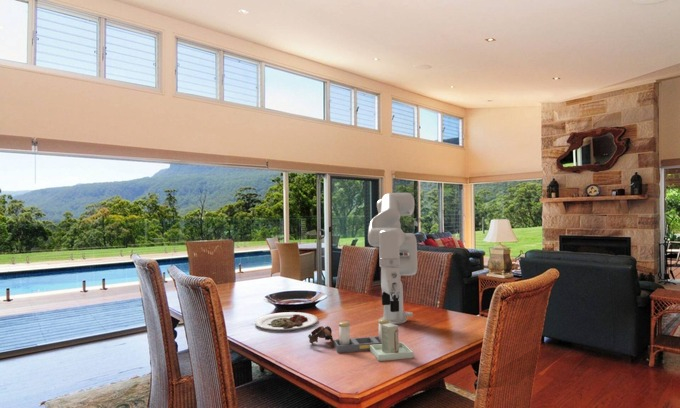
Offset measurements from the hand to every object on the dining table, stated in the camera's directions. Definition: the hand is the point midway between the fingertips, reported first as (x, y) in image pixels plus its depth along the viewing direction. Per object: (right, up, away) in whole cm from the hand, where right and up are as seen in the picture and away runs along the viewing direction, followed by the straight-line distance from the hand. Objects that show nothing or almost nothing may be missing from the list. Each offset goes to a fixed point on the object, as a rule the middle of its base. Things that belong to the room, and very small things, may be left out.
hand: (390, 308), depth 150 cm
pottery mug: (-26, -18, +11) cm, 33 cm away
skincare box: (0, -17, 0) cm, 17 cm away
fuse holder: (-9, -17, +7) cm, 21 cm away
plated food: (-45, -19, +43) cm, 65 cm away
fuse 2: (-1, -17, +9) cm, 19 cm away
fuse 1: (-17, -17, +6) cm, 25 cm away
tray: (0, -17, -1) cm, 17 cm away
